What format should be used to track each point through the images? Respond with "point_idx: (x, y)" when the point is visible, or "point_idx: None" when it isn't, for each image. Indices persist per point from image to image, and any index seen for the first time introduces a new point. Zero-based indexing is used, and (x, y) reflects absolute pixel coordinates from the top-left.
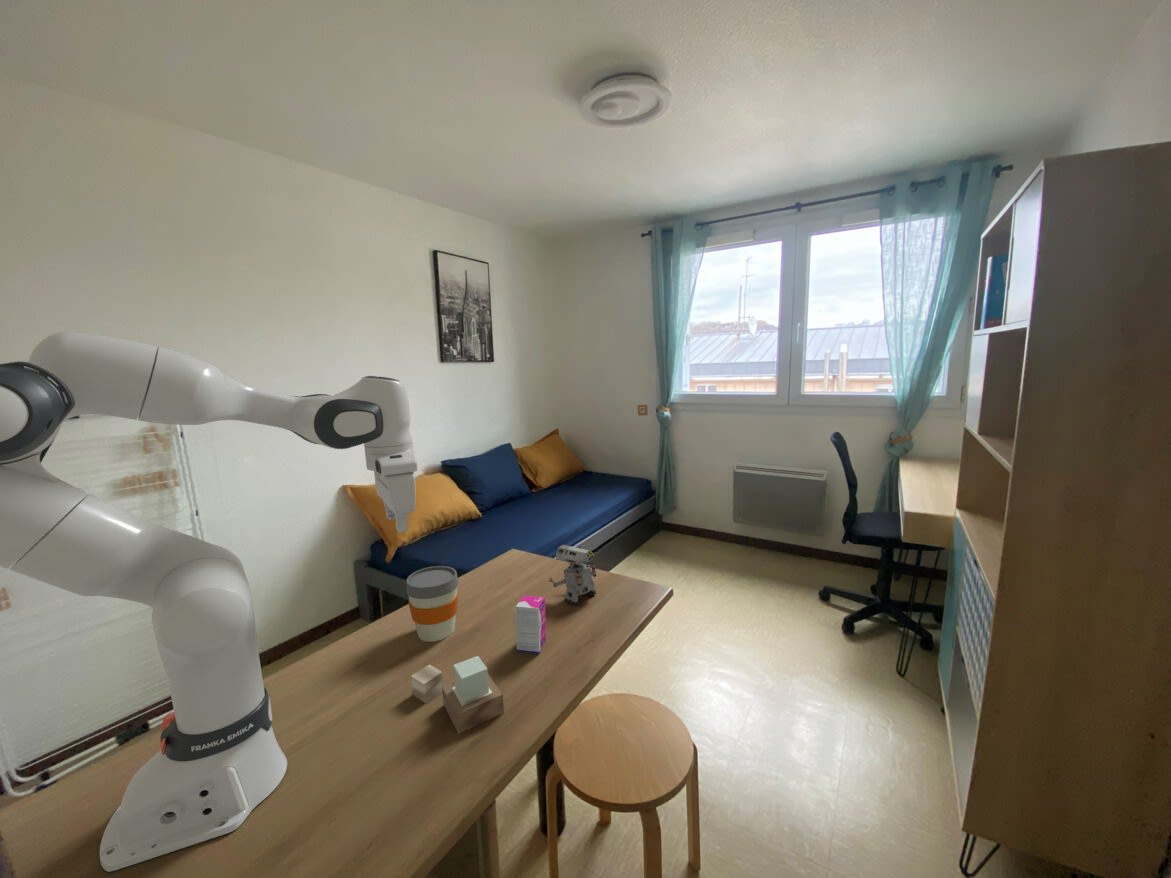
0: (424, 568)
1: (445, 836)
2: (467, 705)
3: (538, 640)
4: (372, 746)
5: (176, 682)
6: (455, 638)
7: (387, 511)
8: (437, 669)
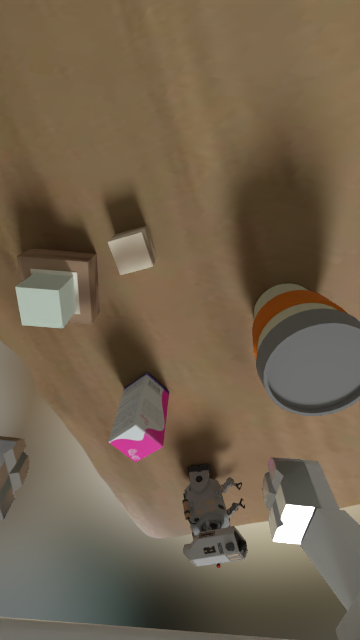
0: None
1: None
2: (28, 274)
3: (120, 402)
4: (67, 138)
5: None
6: (241, 326)
7: (304, 510)
8: (131, 271)
